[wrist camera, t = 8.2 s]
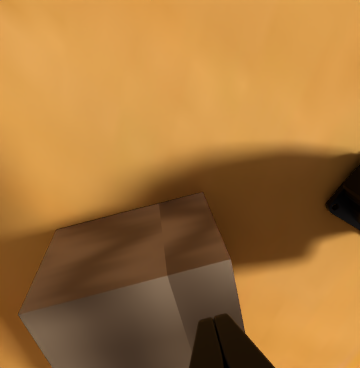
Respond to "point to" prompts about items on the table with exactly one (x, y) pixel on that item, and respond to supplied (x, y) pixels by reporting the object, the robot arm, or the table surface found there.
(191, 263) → the socket block
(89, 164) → the table surface
